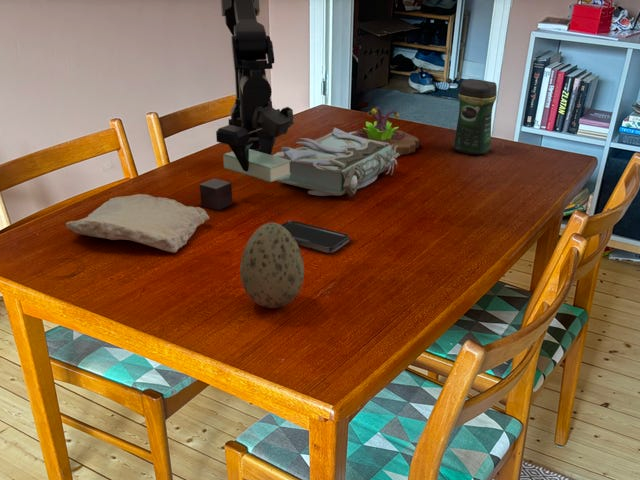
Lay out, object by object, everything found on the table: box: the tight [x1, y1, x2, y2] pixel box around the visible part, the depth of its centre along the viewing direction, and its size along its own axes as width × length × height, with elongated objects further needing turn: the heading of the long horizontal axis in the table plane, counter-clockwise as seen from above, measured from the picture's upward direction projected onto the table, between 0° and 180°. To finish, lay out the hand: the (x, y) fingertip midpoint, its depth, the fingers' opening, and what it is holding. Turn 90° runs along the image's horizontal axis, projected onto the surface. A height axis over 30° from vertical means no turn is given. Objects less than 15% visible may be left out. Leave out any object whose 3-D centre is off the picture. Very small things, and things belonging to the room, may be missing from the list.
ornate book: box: [272, 126, 401, 198], centre depth 181 cm, size 23×10×30 cm
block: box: [199, 178, 234, 211], centre depth 166 cm, size 5×5×5 cm
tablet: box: [65, 193, 210, 254], centre depth 151 cm, size 24×8×20 cm
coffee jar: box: [453, 78, 498, 156], centre depth 198 cm, size 10×8×19 cm
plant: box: [351, 106, 420, 156], centre depth 201 cm, size 20×20×11 cm
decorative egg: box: [239, 222, 305, 309], centre depth 125 cm, size 11×11×15 cm
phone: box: [280, 220, 350, 254], centre depth 152 cm, size 8×1×15 cm
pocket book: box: [222, 149, 291, 183], centre depth 164 cm, size 14×7×3 cm, turn 52°
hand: (256, 166), depth 165 cm, fingers closed on pocket book, 7 cm apart
